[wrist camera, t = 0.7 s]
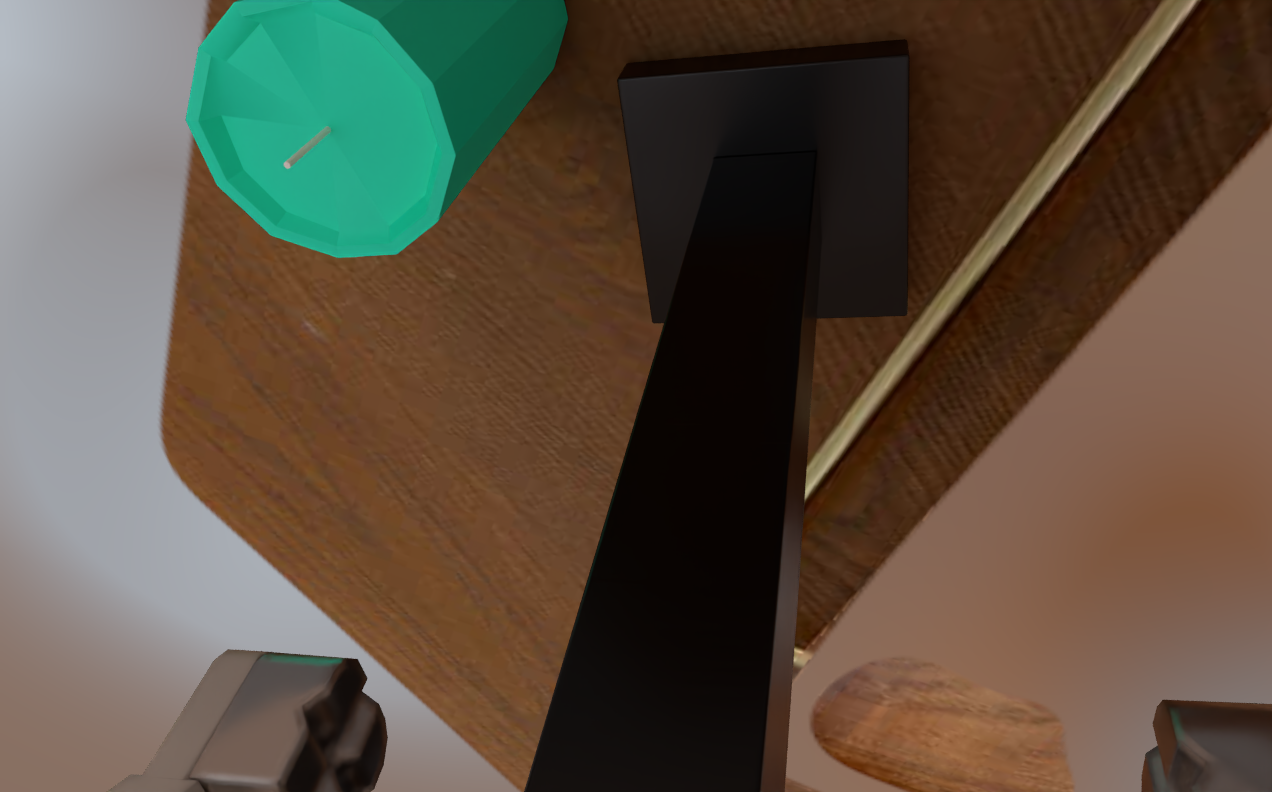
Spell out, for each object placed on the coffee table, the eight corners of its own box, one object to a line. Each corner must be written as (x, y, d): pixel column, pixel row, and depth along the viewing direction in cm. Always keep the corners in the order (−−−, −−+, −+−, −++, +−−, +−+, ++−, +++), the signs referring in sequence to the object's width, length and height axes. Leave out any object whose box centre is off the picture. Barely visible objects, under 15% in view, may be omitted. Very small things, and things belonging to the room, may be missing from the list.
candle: (607, -17, 30) (484, 138, 20) (505, 145, 33) (357, 345, 23) (424, -153, 29) (199, -58, 19) (338, 28, 32) (108, 188, 22)
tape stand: (626, 62, 31) (-349, 1714, 6) (907, 38, 29) (1180, 2226, 4) (659, 301, 35) (173, 1835, 10) (906, 293, 34) (1036, 2110, 9)
